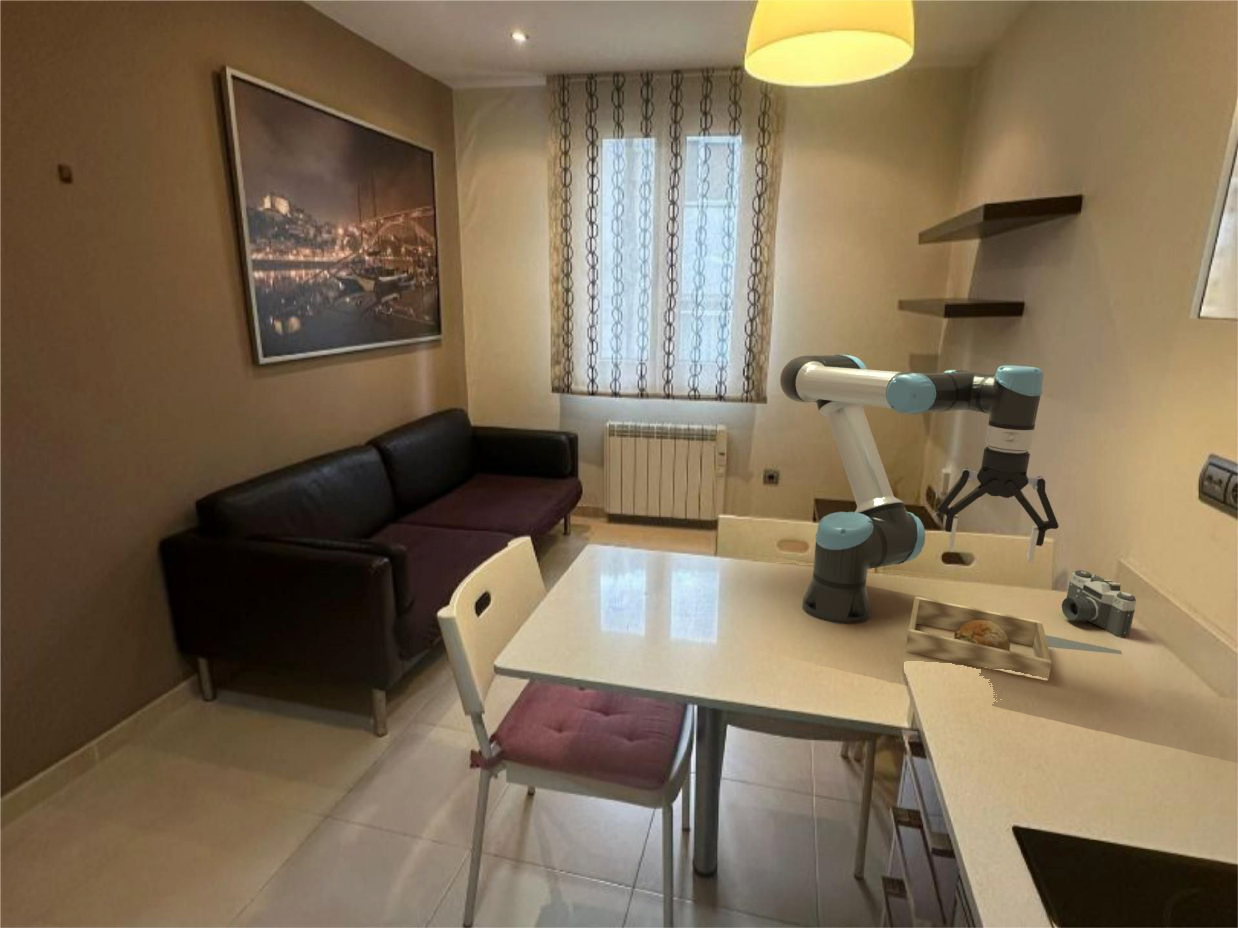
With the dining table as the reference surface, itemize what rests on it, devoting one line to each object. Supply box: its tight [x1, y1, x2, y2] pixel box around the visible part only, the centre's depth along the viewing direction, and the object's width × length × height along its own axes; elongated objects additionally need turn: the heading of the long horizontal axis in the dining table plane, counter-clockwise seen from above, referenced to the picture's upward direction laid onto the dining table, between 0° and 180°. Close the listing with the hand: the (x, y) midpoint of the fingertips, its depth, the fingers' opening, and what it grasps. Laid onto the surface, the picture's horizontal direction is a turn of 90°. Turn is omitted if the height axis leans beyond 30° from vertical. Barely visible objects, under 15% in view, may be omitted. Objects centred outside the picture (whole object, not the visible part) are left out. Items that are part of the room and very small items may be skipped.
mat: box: [1045, 634, 1123, 655], centre depth 129 cm, size 14×14×1 cm
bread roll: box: [953, 620, 1011, 651], centre depth 130 cm, size 10×10×8 cm
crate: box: [905, 595, 1053, 680], centre depth 130 cm, size 24×18×6 cm
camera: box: [1061, 569, 1137, 638], centre depth 144 cm, size 16×10×10 cm, turn 4°
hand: (989, 553), depth 126 cm, fingers open, 13 cm apart
